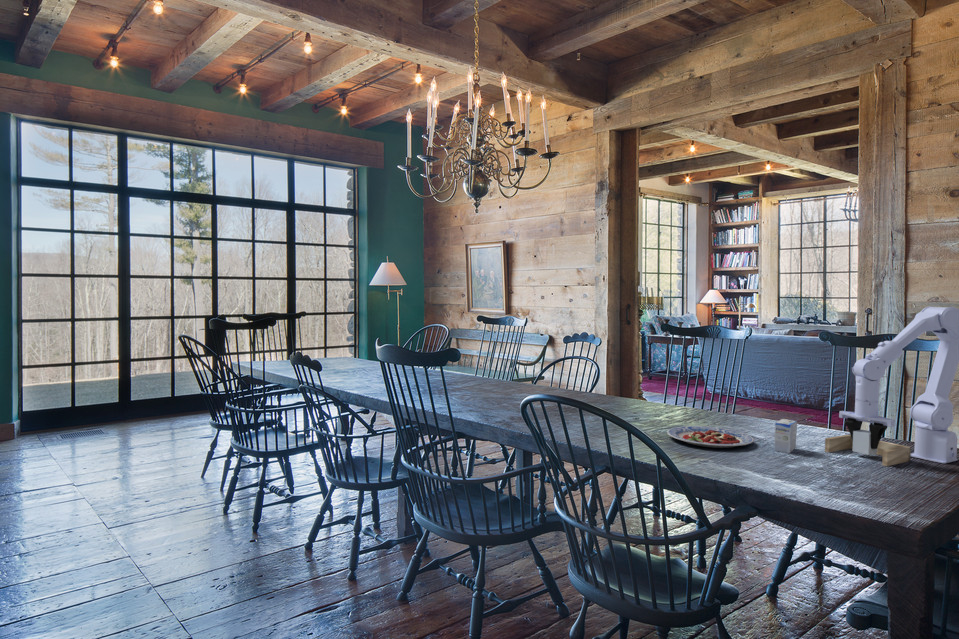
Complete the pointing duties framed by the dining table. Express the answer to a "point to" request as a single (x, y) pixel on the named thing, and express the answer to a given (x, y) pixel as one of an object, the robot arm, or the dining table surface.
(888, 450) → the birch frame
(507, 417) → the dining table surface
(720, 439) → the ceramic plate
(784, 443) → the medicine box
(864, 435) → the block
